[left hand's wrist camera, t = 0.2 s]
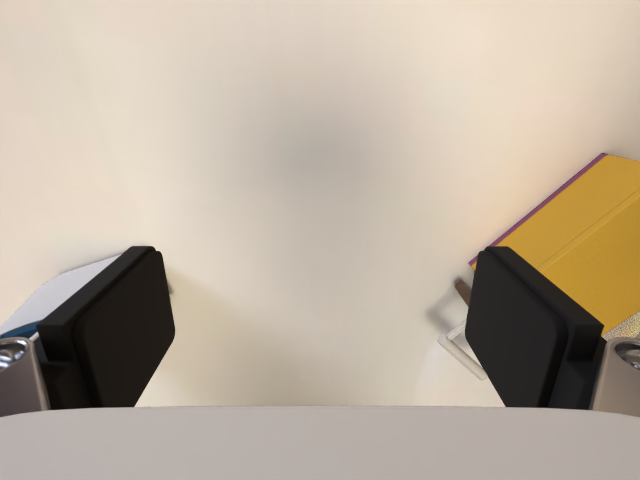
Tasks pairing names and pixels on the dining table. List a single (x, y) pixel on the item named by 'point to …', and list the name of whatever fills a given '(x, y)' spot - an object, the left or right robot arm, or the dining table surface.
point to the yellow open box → (588, 239)
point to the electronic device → (49, 300)
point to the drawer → (447, 340)
